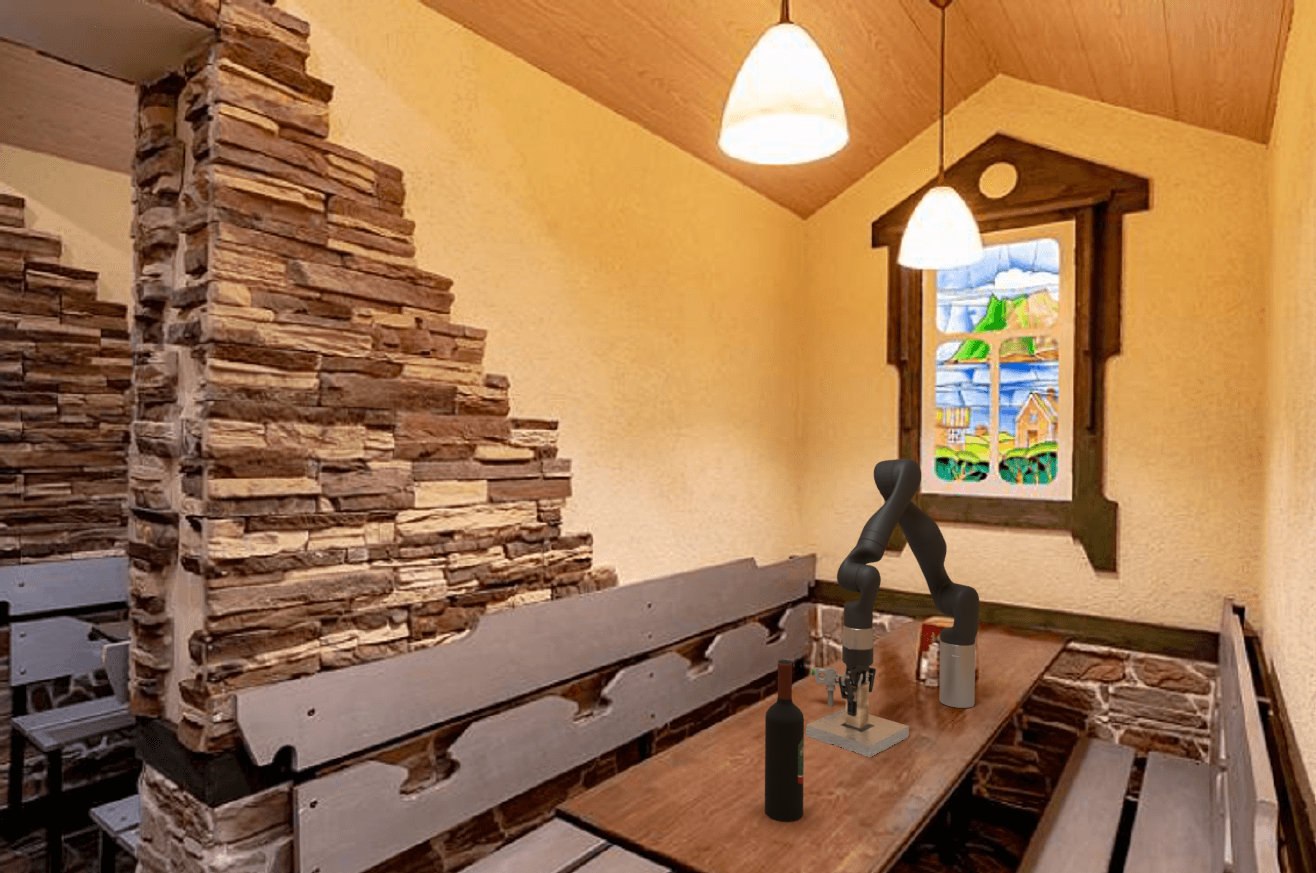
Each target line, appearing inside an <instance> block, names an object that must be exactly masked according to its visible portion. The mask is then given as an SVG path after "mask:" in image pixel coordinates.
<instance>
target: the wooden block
mask: <svg viewBox="0 0 1316 873" xmlns="http://www.w3.org/2000/svg"><path fill="white" fill-rule="evenodd" d="M851 687H853V688H856V686H853V685H851ZM869 694H870V692H869V684H868V683H867V684H861V686H860V687H859V692H857V700H856V701H857V715H856V716H851V715H848V713H847V699H845V708H846V724H848V725H851V726H855V727H858V728H861V727H863V726H865V725H867V724H868V715H869V714H870V713H869V709H870V707H869V706H870V704H869V703H870V702H869V701H870V699H869V698H870V697H869ZM852 695H853V691H852Z"/></svg>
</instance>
